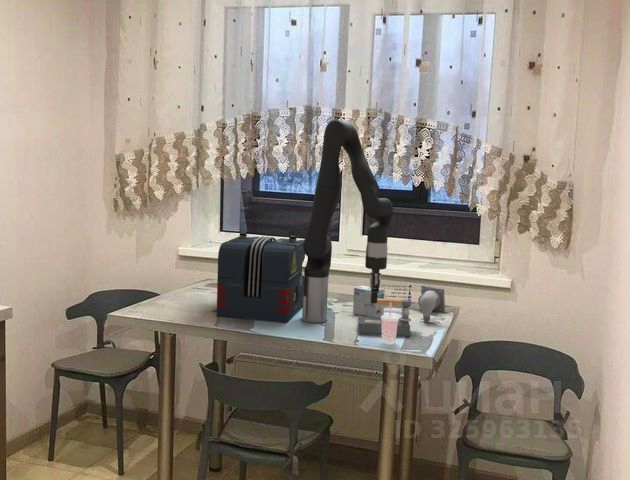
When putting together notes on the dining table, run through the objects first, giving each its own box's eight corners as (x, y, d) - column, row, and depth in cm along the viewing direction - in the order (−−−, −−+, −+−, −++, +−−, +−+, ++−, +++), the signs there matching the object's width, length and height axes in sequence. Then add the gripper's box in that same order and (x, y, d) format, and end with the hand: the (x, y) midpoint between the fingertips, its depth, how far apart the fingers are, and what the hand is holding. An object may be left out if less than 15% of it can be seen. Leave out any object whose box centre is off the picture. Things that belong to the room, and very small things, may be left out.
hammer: (370, 305, 243) (371, 299, 242) (370, 303, 246) (370, 296, 246) (411, 307, 242) (411, 301, 242) (410, 305, 246) (410, 298, 246)
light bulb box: (383, 315, 268) (385, 288, 266) (375, 318, 262) (377, 291, 261) (360, 310, 274) (362, 284, 272) (352, 313, 268) (353, 287, 267)
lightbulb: (426, 324, 255) (428, 296, 254) (415, 321, 260) (416, 293, 259) (437, 323, 259) (439, 295, 258) (426, 319, 264) (428, 291, 262)
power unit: (287, 323, 249) (290, 243, 245) (216, 316, 255) (217, 238, 251) (303, 306, 277) (306, 234, 272) (239, 301, 282) (240, 229, 278)
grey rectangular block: (358, 334, 238) (359, 308, 237) (357, 327, 248) (358, 302, 247) (412, 337, 238) (413, 311, 237) (409, 329, 248) (410, 304, 247)
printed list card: (442, 308, 285) (444, 285, 284) (447, 314, 274) (449, 290, 272) (379, 305, 285) (380, 282, 284) (382, 311, 274) (383, 287, 272)
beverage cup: (396, 345, 227) (399, 305, 225) (378, 344, 228) (381, 303, 226) (397, 340, 233) (400, 301, 231) (380, 339, 234) (382, 299, 232)
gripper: (364, 251, 244) (362, 298, 246) (366, 257, 231) (364, 306, 233) (385, 252, 244) (382, 299, 246) (388, 258, 231) (385, 307, 233)
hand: (373, 302), depth 240 cm, fingers closed
